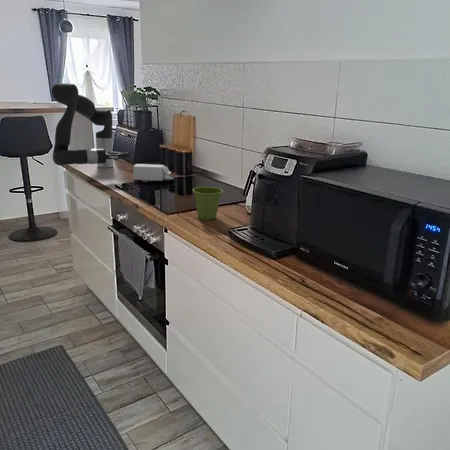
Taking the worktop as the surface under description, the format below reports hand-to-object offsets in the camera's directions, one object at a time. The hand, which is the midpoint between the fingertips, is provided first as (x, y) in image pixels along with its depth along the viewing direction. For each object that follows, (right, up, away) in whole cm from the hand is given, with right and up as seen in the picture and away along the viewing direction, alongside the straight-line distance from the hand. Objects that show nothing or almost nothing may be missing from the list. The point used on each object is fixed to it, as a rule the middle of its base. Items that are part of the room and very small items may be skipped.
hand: (128, 154), depth 231 cm
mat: (+12, -11, +9) cm, 19 cm away
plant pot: (+43, -34, -56) cm, 79 cm away
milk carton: (+2, -8, +3) cm, 9 cm away
